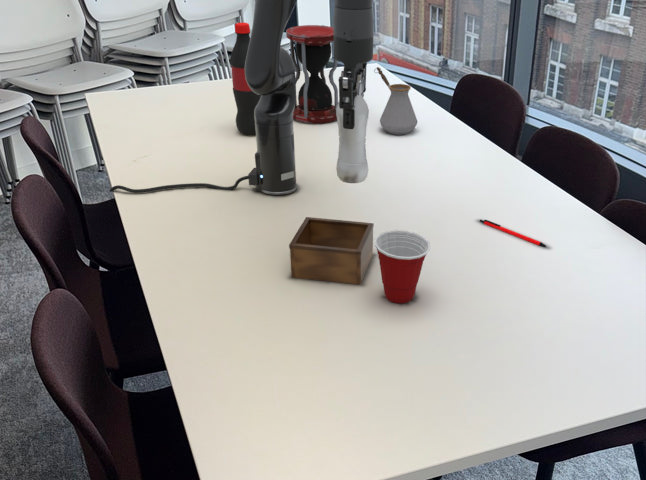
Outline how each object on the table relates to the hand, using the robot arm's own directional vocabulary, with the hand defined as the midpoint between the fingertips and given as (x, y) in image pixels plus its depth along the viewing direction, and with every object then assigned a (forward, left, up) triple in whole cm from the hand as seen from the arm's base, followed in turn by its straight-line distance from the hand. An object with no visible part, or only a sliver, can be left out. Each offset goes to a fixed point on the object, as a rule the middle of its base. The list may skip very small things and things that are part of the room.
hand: (352, 122), depth 152 cm
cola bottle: (-45, +68, -27) cm, 86 cm away
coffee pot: (-5, +84, -27) cm, 89 cm away
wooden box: (-2, -10, -27) cm, 29 cm away
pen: (+35, +14, -28) cm, 47 cm away
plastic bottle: (0, 0, -12) cm, 12 cm away
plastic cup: (+14, -20, -27) cm, 36 cm away
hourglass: (-30, +88, -27) cm, 97 cm away
